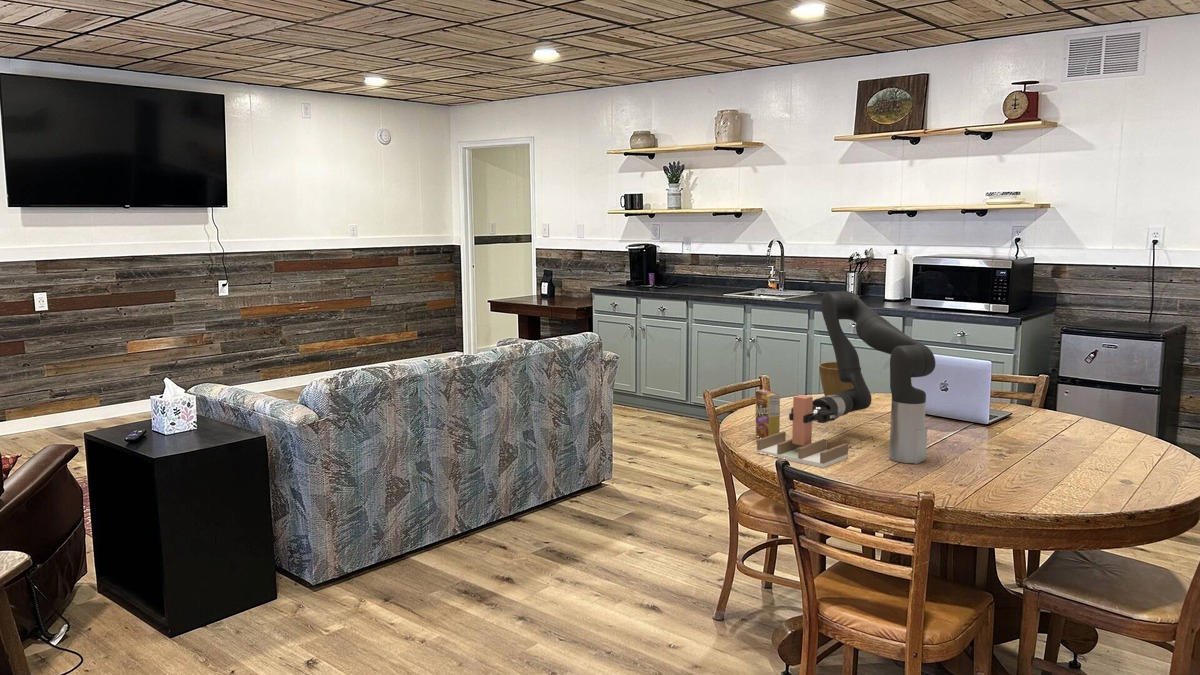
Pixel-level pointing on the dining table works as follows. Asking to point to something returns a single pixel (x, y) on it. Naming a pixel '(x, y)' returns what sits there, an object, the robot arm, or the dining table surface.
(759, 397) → the candy box
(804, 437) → the slim block
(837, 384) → the plant pot
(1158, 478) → the dining table surface
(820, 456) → the comb rack
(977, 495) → the dining table surface
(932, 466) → the dining table surface
